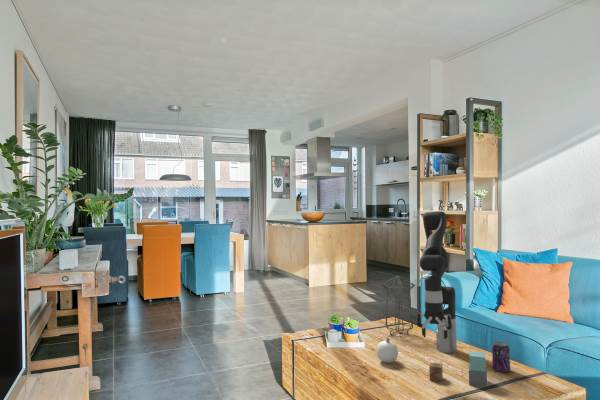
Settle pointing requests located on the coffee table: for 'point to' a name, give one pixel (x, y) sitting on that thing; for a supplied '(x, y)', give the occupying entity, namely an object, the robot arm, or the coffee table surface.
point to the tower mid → (477, 361)
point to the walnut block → (436, 372)
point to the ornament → (387, 351)
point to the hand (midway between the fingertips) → (434, 337)
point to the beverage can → (501, 357)
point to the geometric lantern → (399, 303)
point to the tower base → (478, 378)
